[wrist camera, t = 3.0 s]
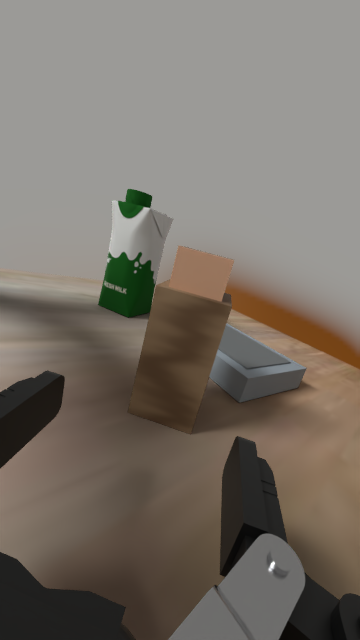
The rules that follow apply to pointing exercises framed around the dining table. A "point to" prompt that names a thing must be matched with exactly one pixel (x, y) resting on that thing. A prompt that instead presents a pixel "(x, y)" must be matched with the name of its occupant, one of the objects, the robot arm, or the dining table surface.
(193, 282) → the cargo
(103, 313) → the dining table surface
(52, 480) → the dining table surface
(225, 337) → the dock
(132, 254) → the milk carton
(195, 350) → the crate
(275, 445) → the dining table surface
